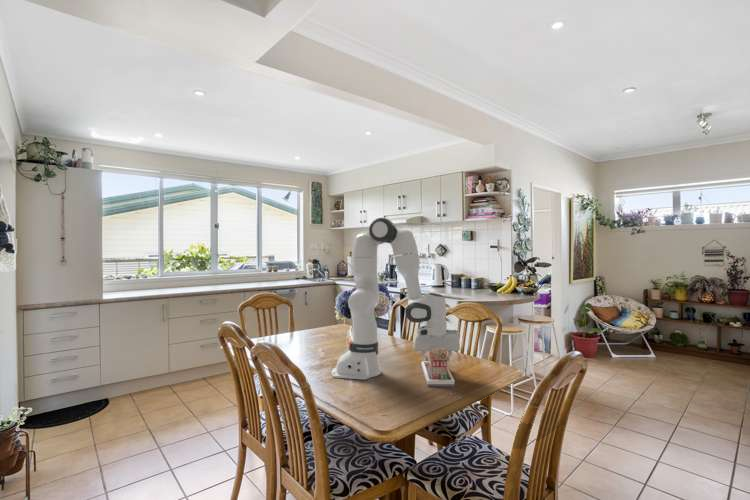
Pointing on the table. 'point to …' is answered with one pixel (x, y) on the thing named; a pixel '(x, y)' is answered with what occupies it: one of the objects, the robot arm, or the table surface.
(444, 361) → the printed food box
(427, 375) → the base plate
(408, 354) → the table surface
